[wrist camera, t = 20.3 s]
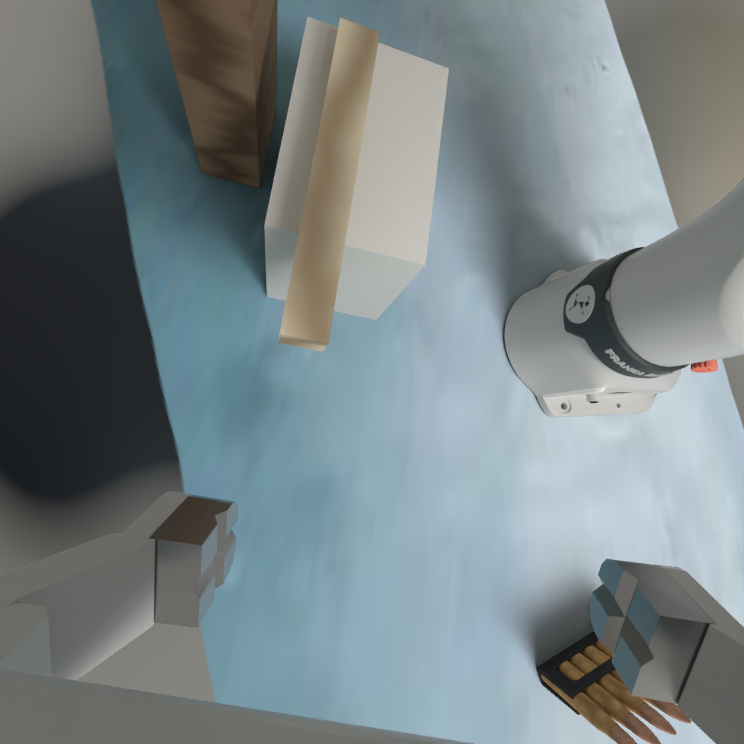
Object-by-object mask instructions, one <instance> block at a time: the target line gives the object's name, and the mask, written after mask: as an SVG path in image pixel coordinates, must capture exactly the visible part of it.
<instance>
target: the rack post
mask: <svg viewBox="0 0 744 744" xmlns="http://www.w3.org/2000/svg"><path fill="white" fill-rule="evenodd" d="M156 3H157V6H158V10H159V14H160V18H161V21H162V25H163V29H164V33H165V36H166V40H167V44H168V48H169V51H170V55H171V59H172V63H173V66H174V70H175V74H176V78H177V81H178V85H179V89H180V93H181V96H182V100H183V104H184V108H185V111H186V115H187V119H188V123H189V126H190V130H191V134H192V138H193V141H194V145H195V149H196V153H197V157H198V160H199V164H200V168H201V172H202V173H204V174H208V175H212V176H215V177H219V178H223V179H227V180H230V181H234V182H238V183H241V184H245V185H249V186H253V187H256V188H260V183H261V179H262V174H263V169H264V165H265V160H266V155H267V151H268V146H269V141H270V137H271V132H272V127H273V123H274V118H275V113H276V74H277V0H156Z"/></svg>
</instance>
